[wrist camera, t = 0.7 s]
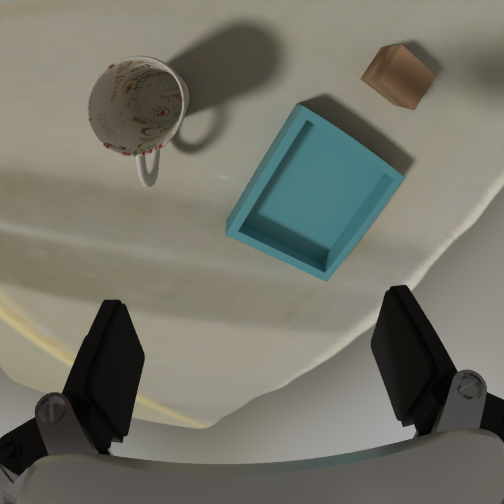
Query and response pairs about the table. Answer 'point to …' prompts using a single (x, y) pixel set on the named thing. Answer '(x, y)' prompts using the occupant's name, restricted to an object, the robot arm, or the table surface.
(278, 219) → the tray
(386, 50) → the block
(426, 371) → the robot arm
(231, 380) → the table surface
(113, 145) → the mug
